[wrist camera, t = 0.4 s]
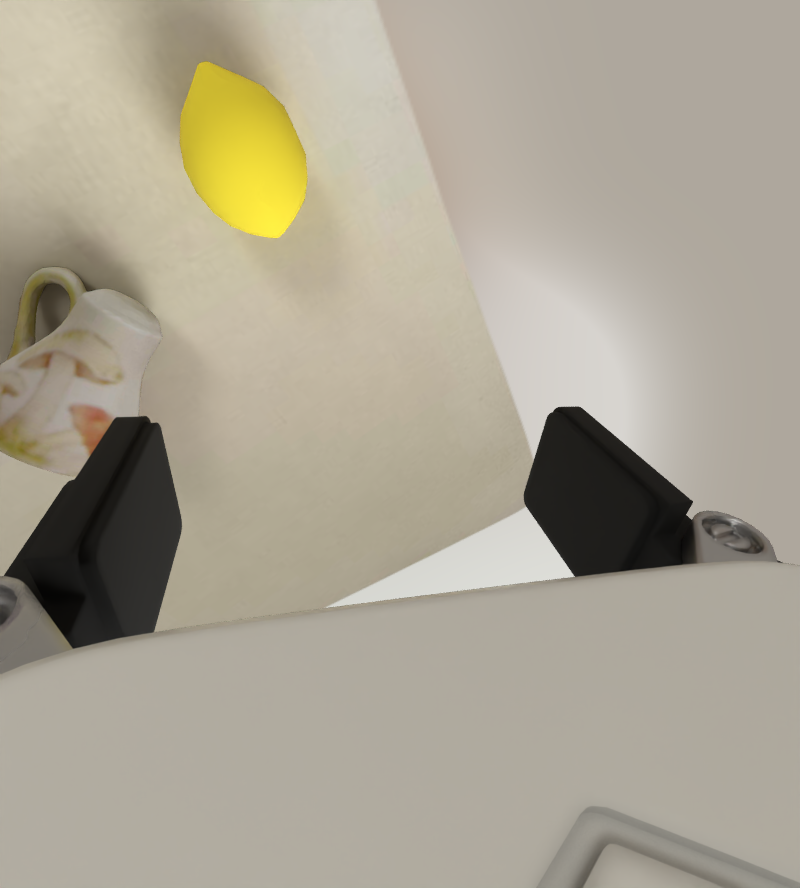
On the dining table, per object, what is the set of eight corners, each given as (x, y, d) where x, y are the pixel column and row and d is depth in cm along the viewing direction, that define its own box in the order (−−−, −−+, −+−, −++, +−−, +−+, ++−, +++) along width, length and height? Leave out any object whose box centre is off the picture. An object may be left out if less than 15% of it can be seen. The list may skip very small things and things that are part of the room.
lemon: (324, 214, 24) (332, 226, 20) (232, 247, 24) (221, 266, 20) (268, 53, 20) (263, 24, 16) (158, 91, 20) (123, 72, 16)
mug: (208, 312, 26) (170, 464, 21) (132, 376, 31) (88, 509, 27) (64, 222, 21) (-30, 397, 16) (0, 316, 26) (-84, 470, 21)
